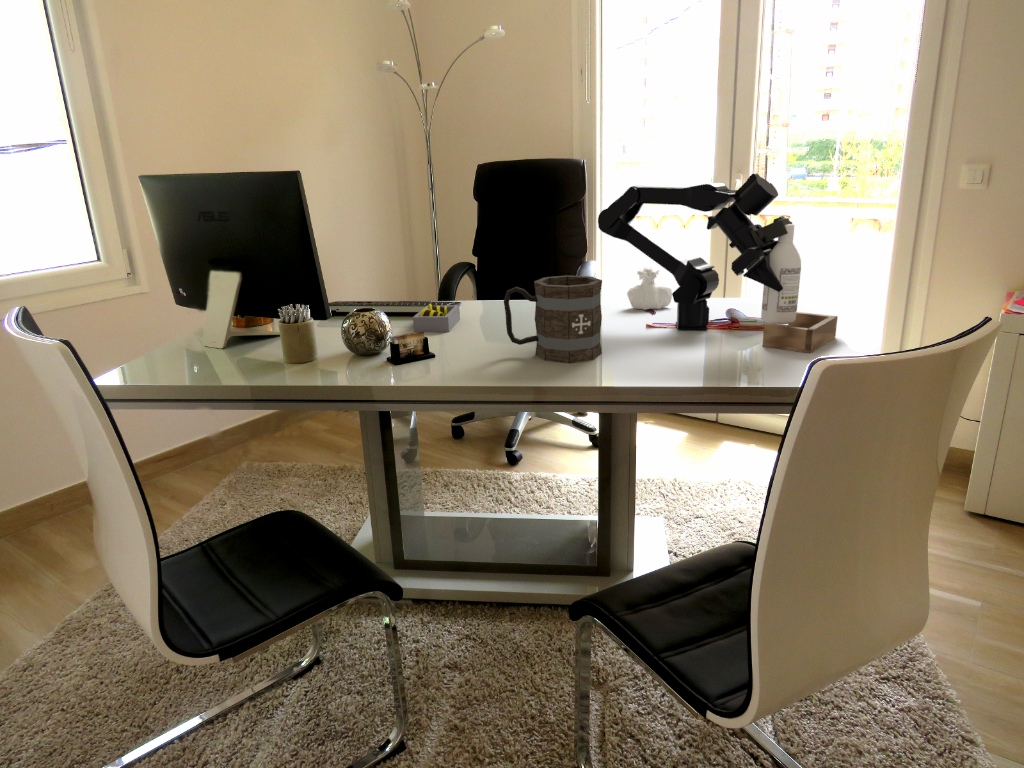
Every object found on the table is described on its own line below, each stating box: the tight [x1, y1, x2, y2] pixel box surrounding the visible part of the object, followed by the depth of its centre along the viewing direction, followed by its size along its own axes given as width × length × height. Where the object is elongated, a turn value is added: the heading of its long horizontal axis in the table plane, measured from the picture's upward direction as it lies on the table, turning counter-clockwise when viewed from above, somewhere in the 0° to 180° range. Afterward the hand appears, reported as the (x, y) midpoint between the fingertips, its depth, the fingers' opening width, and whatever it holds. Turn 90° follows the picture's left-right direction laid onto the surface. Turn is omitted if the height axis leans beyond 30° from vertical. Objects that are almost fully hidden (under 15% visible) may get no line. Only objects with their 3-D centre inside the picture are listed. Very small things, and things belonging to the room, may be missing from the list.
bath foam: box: [760, 223, 802, 325], centre depth 151 cm, size 7×7×20 cm
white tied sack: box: [626, 267, 673, 310], centre depth 189 cm, size 12×8×11 cm
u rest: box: [761, 311, 838, 354], centre depth 151 cm, size 10×15×5 cm, turn 140°
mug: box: [503, 274, 603, 364], centre depth 146 cm, size 20×14×15 cm
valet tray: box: [412, 305, 461, 333], centre depth 176 cm, size 8×13×4 cm, turn 173°
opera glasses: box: [420, 303, 447, 316], centre depth 176 cm, size 10×5×5 cm, turn 173°
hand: (787, 287), depth 151 cm, fingers closed on bath foam, 7 cm apart
